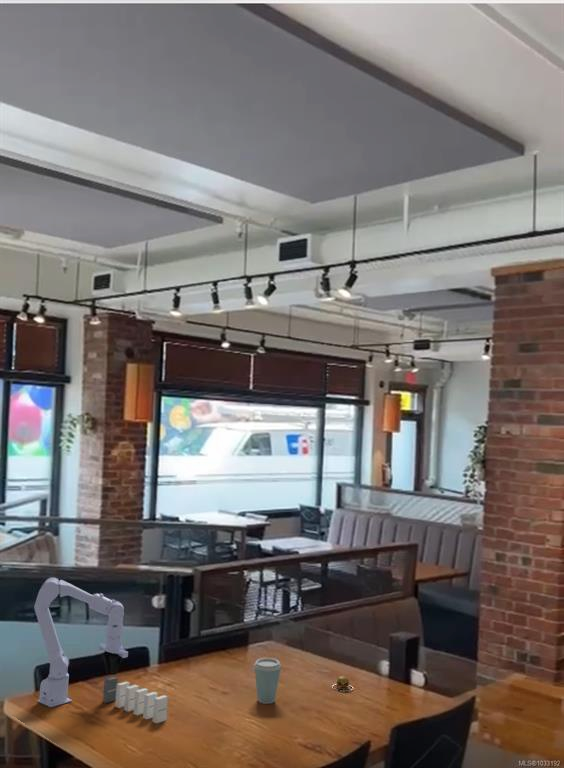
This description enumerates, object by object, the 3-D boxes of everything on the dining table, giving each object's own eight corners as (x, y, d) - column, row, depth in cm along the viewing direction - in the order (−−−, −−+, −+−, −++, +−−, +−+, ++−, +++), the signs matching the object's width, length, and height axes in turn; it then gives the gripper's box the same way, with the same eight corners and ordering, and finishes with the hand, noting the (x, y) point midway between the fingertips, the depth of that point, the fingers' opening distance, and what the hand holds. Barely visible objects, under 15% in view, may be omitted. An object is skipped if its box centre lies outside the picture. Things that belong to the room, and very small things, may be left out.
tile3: (127, 711, 272) (129, 688, 273) (124, 710, 273) (125, 687, 274) (137, 708, 276) (139, 686, 276) (133, 707, 277) (135, 684, 277)
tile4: (137, 715, 269) (138, 692, 270) (133, 714, 270) (135, 690, 271) (146, 712, 272) (148, 689, 273) (143, 710, 274) (144, 688, 274)
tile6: (156, 723, 263) (158, 699, 263) (152, 721, 264) (154, 698, 265) (166, 720, 266) (167, 696, 267) (162, 718, 268) (163, 695, 268)
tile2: (118, 708, 275) (120, 685, 276) (115, 706, 276) (116, 683, 277) (128, 705, 279) (130, 682, 279) (124, 703, 280) (126, 681, 281)
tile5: (146, 719, 266) (148, 695, 266) (142, 717, 267) (144, 694, 268) (156, 716, 269) (158, 693, 270) (152, 714, 271) (154, 691, 271)
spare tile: (106, 702, 280) (108, 680, 280) (102, 701, 281) (104, 679, 281) (116, 700, 283) (117, 678, 284) (112, 698, 284) (114, 676, 285)
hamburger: (358, 687, 317) (359, 673, 317) (355, 696, 305) (356, 682, 306) (330, 683, 320) (331, 670, 320) (325, 692, 308) (326, 678, 308)
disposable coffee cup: (276, 707, 285) (278, 666, 287) (248, 703, 288) (250, 663, 289) (281, 698, 296) (284, 658, 297) (254, 694, 298) (257, 655, 299)
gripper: (135, 638, 282) (132, 675, 281) (110, 630, 291) (107, 666, 290) (120, 641, 277) (117, 679, 276) (95, 633, 286) (92, 670, 285)
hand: (111, 673), depth 283 cm, fingers closed
